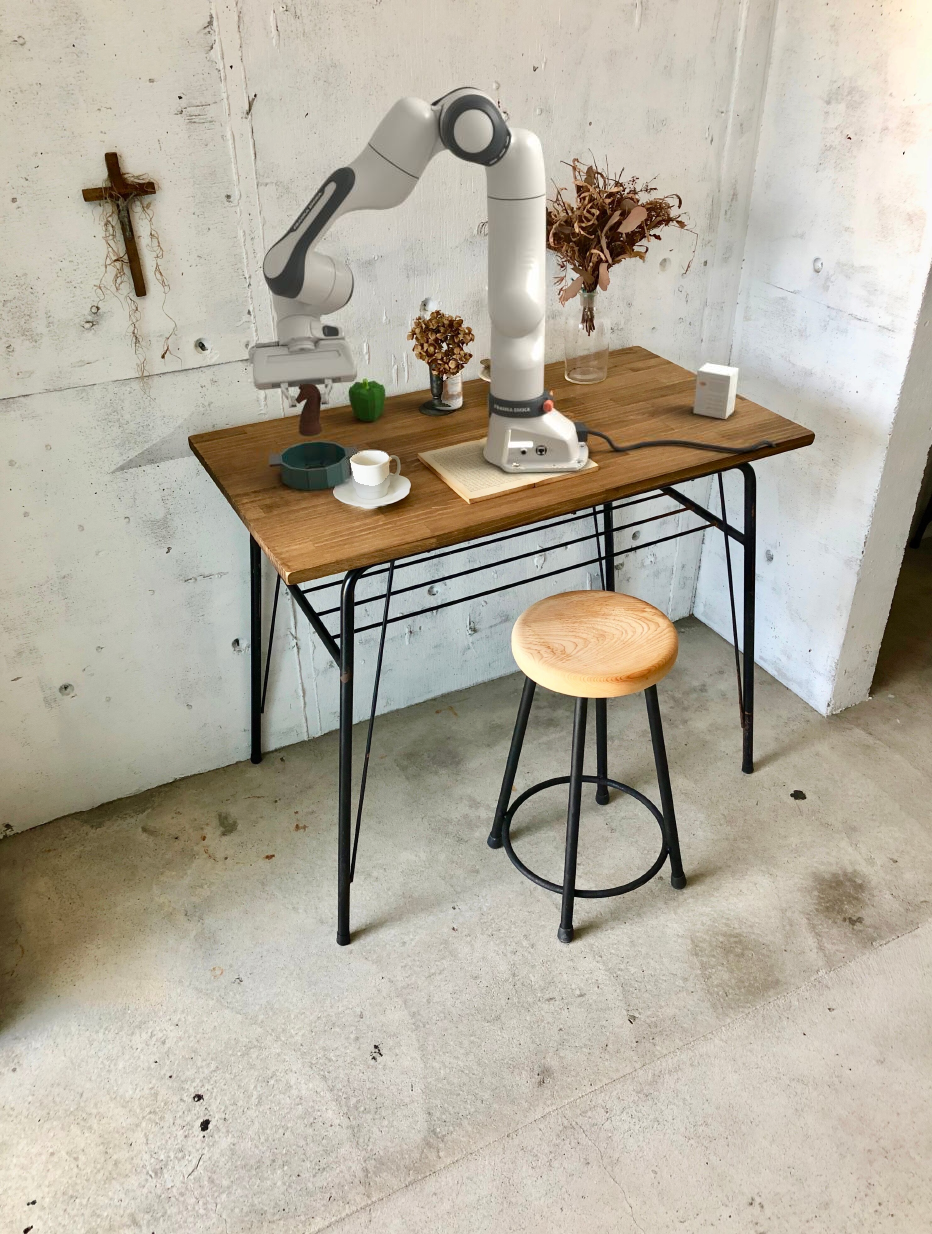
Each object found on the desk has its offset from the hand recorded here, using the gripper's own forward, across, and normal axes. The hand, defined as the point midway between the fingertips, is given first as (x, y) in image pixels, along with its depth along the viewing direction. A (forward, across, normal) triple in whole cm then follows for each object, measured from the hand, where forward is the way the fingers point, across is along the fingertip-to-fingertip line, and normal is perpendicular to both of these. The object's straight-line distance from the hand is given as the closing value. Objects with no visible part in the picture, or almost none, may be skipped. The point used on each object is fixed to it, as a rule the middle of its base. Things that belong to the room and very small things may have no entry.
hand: (309, 405), depth 198 cm
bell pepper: (-11, +14, +36) cm, 41 cm away
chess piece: (+4, 0, +5) cm, 6 cm away
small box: (+1, +93, +25) cm, 96 cm away
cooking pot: (+8, 0, +17) cm, 19 cm away
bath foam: (-13, +34, +39) cm, 53 cm away
